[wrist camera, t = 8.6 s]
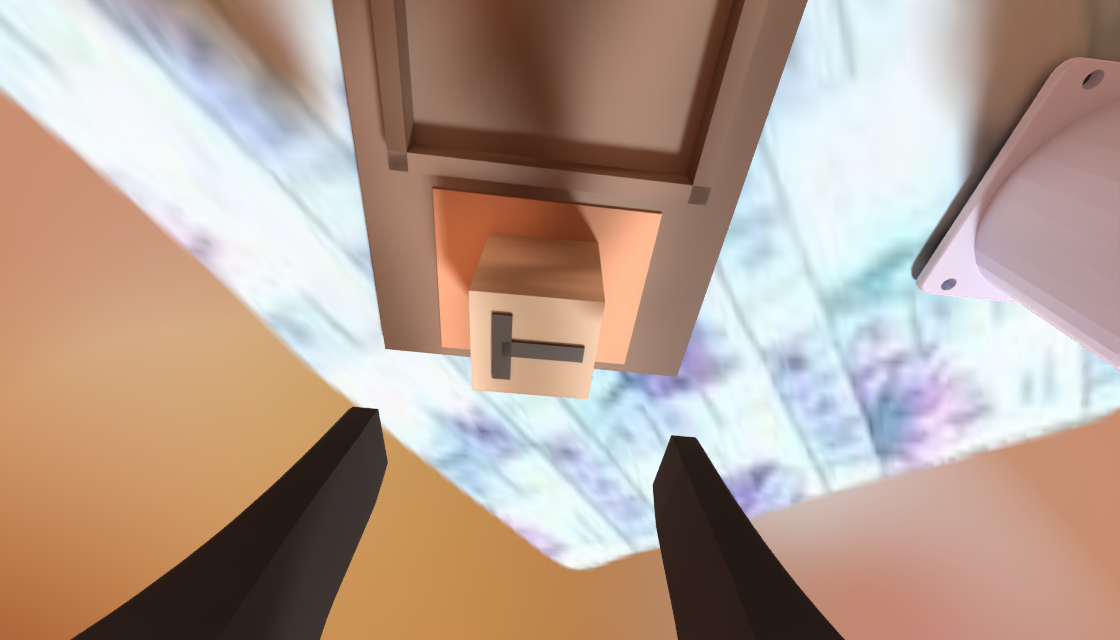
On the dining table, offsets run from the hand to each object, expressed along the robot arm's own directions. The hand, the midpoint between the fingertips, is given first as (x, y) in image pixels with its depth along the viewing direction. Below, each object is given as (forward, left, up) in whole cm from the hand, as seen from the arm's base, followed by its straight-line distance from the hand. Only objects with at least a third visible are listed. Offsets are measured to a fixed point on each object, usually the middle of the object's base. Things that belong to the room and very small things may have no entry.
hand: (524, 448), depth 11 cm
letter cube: (0, 0, -8) cm, 8 cm away
